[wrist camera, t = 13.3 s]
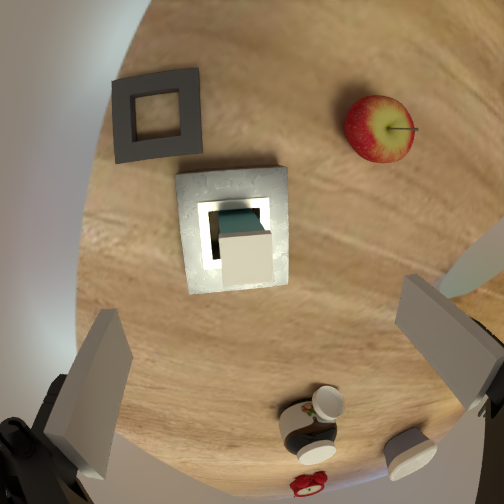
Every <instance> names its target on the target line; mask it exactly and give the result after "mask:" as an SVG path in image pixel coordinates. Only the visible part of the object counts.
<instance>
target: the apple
mask: <svg viewBox="0 0 504 504" xmlns="http://www.w3.org/2000/svg"><path fill="white" fill-rule="evenodd" d="M415 131H418V128H414V124H413V121H412V118H411V116H410V114H409V113H408V111H407V109H406V108H405V107H404V106H403V105H402V104H401V103H400V102H399V101H397V100H395V99H393V98H390V97H386V96H378V95H373V96H366V97H363V98H361V99H359V100H358V101H356V102H355V103H354V104H353V105H352V107H351V108H350V110H349V112H348V114H347V116H346V119H345V123H344V132H345V135H346V138H347V140H348V142H349V143H350V145H351V147H352V148H353V149H354V151H355V152H356V153H357V154H358V155H359V156H361V157H362V158H364V159H366V160H368V161H371V162H376V163H391V162H395V161H398V160H400V159H402V158H403V157H405V156H406V155H407V153H408V152H409V150H410V148H411V146H412V143H413V140H414V135H415Z"/></svg>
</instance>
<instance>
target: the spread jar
mask: <svg viewBox="0 0 504 504" xmlns="http://www.w3.org/2000/svg"><path fill="white" fill-rule="evenodd" d="M344 409H345V403H344V399H343V397H342V395H341V394H340V392H339V391H338V390H337V389H335V388H334V387H331V386H322V387H321V388H319V389H318V390H316V391H315V392H314V394H313V397H312V399H302V400H299V401H296V402H294V403H292V404H290V405H289V406H287V407H286V408H285V409H284V411H283V412H282V414H281V416H280V419H279V428H280V433H281V437H282V441H283V444H284V446H285V448H286V449H287V450H288V451H289V452H290V453H292V454H294V455H297V458H298V461H299V463H300V464H303V465H312V464H317V463H320V462H322V461H325V460H327V459H328V458H330V457H331V456H333V455H334V453H335V452H336V447H335V445H334V441H335V438H336V435H337V424H336V421H335V419H336V418H338V417H340V416H341V415H342V414H343V412H344Z"/></svg>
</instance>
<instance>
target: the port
mask: <svg viewBox="0 0 504 504" xmlns="http://www.w3.org/2000/svg"><path fill="white" fill-rule="evenodd" d="M175 183H176V194H177V204H178V214H179V223H180V231H181V239H182V247H183V255H184V262H185V269H186V276H187V283H188V290H189V294H199V293H210V292H221V291H232V290H242V289H252V288H261V287H271V286H280V285H288V174H287V167H285V166H281V165H265V166H245V167H229V168H215V169H203V170H193V171H182V172H178V173H177V174H175ZM243 208H255V215H256V216H257V218H258V219H259V221H260V222H261V224H262V225H263V227H264V228H265V230H270V231H271V233H272V249H273V282H264V283H255V284H245V285H235V286H224V287H223V280H222V270H221V258H220V247H212V243H211V232H210V220H209V211H218V210H230V209H243Z"/></svg>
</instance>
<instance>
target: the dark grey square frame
mask: <svg viewBox="0 0 504 504" xmlns="http://www.w3.org/2000/svg"><path fill="white" fill-rule="evenodd" d="M172 92H179V105H180V126H181V136H173V137H165V138H157V139H150V140H143V141H137V132H136V112H135V98H138V97H144V96H151V95H157V94H165V93H172ZM112 120H113V138H114V152H115V164H120V163H126V162H133V161H139V160H146V159H154V158H162V157H170V156H179V155H188V154H199V153H203V148H202V130H201V110H200V85H199V69H198V68H190V69H180V70H172V71H164V72H157V73H151V74H145V75H139V76H134V77H128V78H123V79H119V80H114V81H112Z"/></svg>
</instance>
